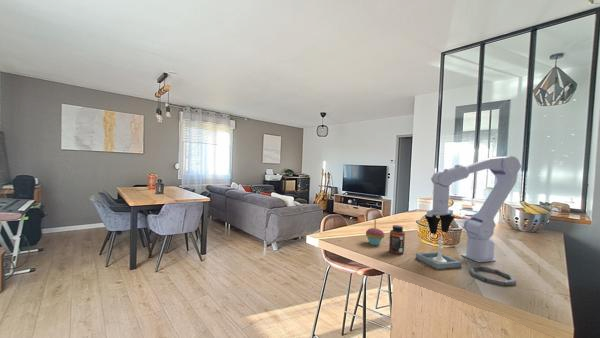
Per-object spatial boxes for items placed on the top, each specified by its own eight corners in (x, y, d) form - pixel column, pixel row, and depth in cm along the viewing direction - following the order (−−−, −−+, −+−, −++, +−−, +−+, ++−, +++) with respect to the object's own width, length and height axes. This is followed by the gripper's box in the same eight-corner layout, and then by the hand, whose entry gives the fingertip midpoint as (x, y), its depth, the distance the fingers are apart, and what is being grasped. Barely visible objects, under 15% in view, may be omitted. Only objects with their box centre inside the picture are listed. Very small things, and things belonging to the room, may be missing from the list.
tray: (437, 256, 103) (437, 251, 103) (461, 267, 92) (461, 262, 92) (415, 258, 100) (416, 253, 100) (437, 269, 90) (437, 264, 89)
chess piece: (443, 265, 92) (444, 238, 92) (429, 260, 96) (431, 235, 96) (449, 262, 95) (450, 236, 95) (436, 258, 99) (437, 233, 99)
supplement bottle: (405, 255, 103) (406, 228, 103) (390, 253, 104) (391, 227, 104) (402, 250, 109) (403, 225, 108) (388, 249, 110) (389, 223, 110)
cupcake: (364, 240, 122) (365, 215, 122) (382, 241, 121) (383, 217, 120) (366, 245, 113) (367, 219, 113) (385, 247, 112) (387, 221, 112)
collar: (487, 268, 93) (487, 265, 93) (523, 283, 81) (523, 280, 81) (462, 270, 89) (462, 267, 89) (496, 287, 78) (496, 283, 78)
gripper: (438, 202, 96) (437, 237, 97) (460, 201, 103) (459, 233, 103) (422, 199, 103) (421, 232, 103) (444, 198, 109) (442, 229, 110)
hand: (438, 232), depth 103 cm, fingers open, 7 cm apart
